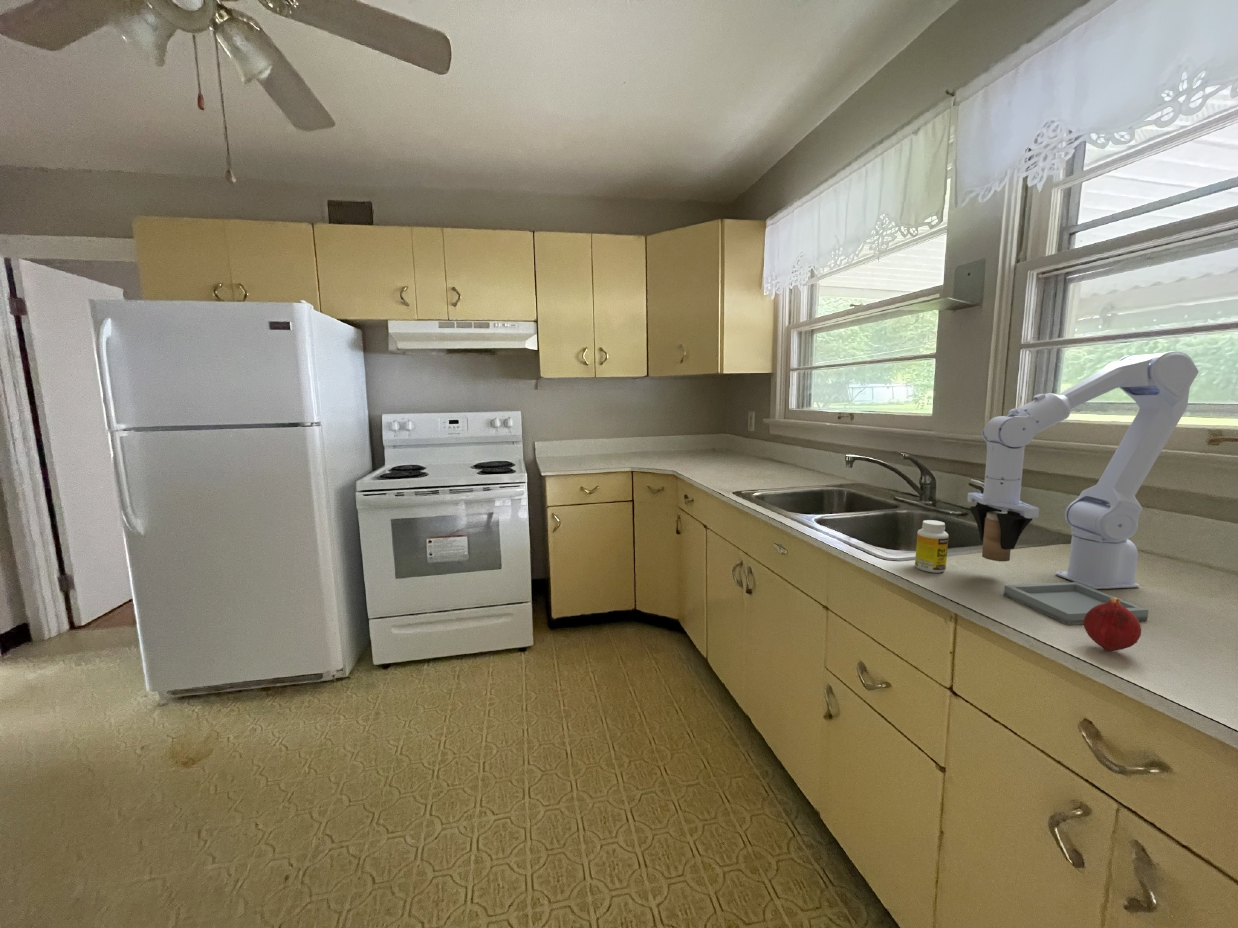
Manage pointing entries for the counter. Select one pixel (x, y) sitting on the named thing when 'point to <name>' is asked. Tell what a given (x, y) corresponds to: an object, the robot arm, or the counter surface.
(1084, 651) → the counter surface
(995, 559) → the shaker
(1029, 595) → the tray
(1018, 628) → the counter surface
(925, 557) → the supplement bottle
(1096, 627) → the onion
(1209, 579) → the counter surface
